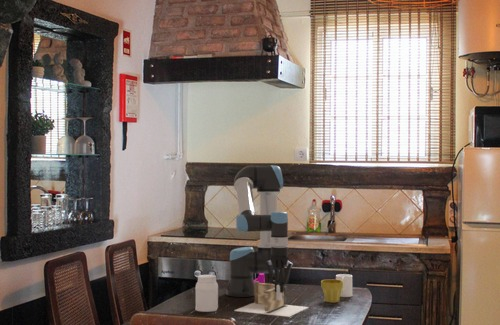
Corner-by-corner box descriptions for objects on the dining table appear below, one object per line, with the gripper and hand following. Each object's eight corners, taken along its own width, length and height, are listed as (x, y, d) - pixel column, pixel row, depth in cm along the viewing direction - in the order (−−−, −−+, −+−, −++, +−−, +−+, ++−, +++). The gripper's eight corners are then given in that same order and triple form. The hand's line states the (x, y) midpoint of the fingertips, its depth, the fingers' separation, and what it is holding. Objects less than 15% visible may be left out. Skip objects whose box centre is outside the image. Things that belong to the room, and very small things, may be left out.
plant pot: (321, 303, 334) (321, 282, 334) (320, 299, 345) (320, 279, 345) (343, 303, 334) (343, 282, 334) (341, 299, 344) (341, 279, 344)
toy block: (264, 286, 380) (264, 272, 380) (263, 288, 374) (263, 274, 374) (236, 286, 381) (236, 272, 381) (235, 288, 375) (235, 274, 375)
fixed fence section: (253, 303, 333) (253, 281, 333) (255, 302, 335) (255, 281, 335) (280, 305, 326) (280, 284, 326) (282, 305, 328) (282, 283, 328)
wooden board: (283, 303, 328) (283, 284, 328) (287, 304, 327) (287, 285, 327) (263, 311, 312) (263, 291, 312) (267, 311, 311) (267, 291, 311)
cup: (334, 298, 347) (334, 277, 347) (336, 293, 359) (336, 273, 359) (350, 298, 346) (350, 278, 346) (353, 294, 357) (353, 274, 357)
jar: (215, 311, 315) (215, 278, 315) (194, 311, 316) (194, 278, 316) (218, 306, 327) (218, 274, 327) (198, 306, 327) (198, 274, 327)
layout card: (234, 311, 317) (234, 310, 317) (256, 302, 337) (256, 301, 337) (289, 317, 305) (289, 316, 305) (308, 307, 324) (308, 306, 324)
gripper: (262, 246, 314) (262, 299, 314) (289, 248, 308) (289, 302, 308) (269, 244, 321) (270, 297, 321) (296, 246, 315) (296, 299, 314)
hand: (279, 299), depth 314 cm, fingers closed
